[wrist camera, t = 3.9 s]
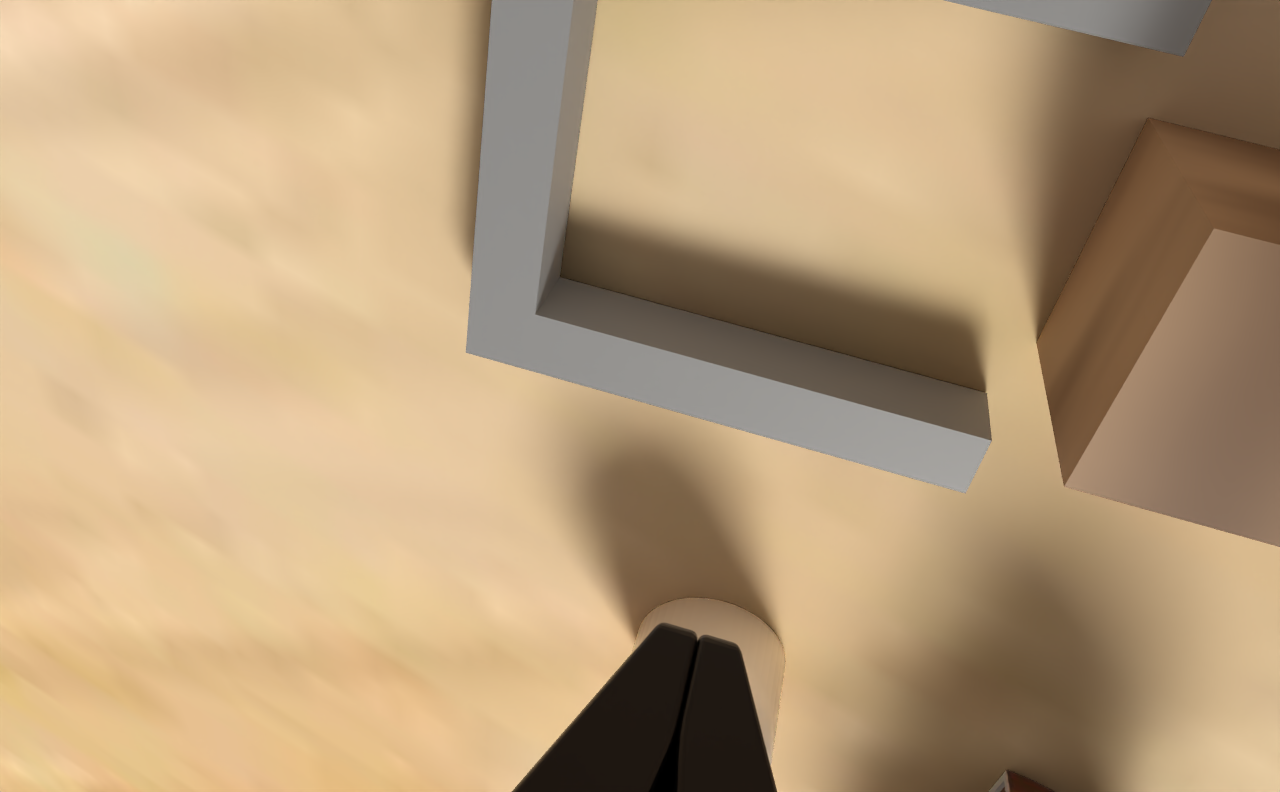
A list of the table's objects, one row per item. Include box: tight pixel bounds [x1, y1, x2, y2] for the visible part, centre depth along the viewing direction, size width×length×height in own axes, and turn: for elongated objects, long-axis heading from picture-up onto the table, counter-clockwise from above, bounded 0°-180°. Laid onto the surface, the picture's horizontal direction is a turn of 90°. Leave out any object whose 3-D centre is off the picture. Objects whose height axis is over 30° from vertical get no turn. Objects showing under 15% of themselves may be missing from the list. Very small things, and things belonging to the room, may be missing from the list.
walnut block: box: [1036, 118, 1280, 547], centre depth 17 cm, size 5×5×5 cm
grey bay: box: [466, 0, 1212, 493], centre depth 19 cm, size 12×11×2 cm
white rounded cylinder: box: [631, 598, 786, 766], centre depth 26 cm, size 4×4×6 cm
